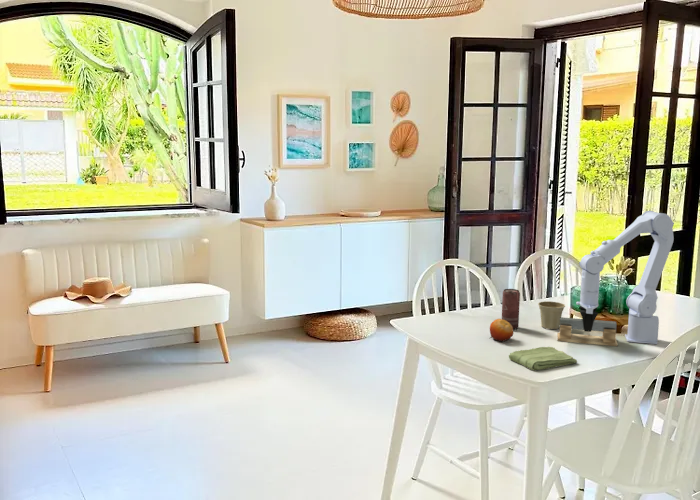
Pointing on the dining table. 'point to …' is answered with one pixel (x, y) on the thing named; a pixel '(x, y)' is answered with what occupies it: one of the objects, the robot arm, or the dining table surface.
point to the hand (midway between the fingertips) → (587, 329)
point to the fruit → (501, 330)
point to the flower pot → (550, 314)
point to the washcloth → (541, 358)
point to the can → (511, 307)
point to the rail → (597, 326)
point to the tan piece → (587, 337)
